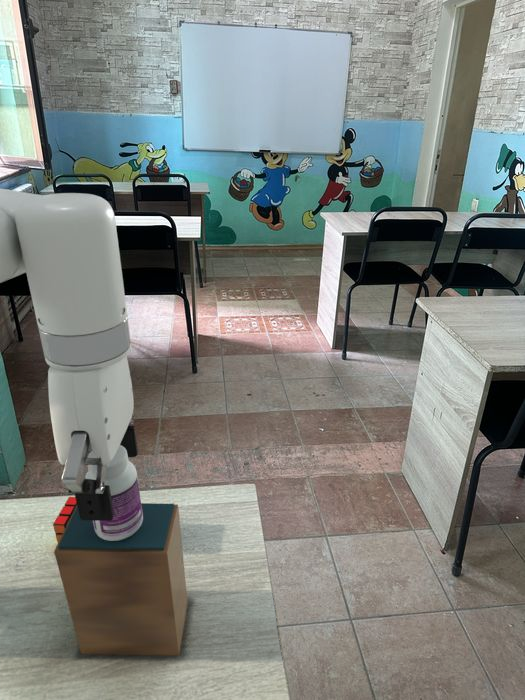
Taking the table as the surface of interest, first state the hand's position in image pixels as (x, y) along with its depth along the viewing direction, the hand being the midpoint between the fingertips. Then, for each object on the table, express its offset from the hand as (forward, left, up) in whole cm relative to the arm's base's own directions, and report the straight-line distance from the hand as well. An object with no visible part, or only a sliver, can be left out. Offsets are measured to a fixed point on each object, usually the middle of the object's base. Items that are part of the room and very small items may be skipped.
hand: (111, 484), depth 51 cm
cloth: (0, 0, -6) cm, 6 cm away
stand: (0, 0, -24) cm, 24 cm away
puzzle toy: (-18, +6, -24) cm, 31 cm away
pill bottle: (0, 0, -6) cm, 6 cm away
